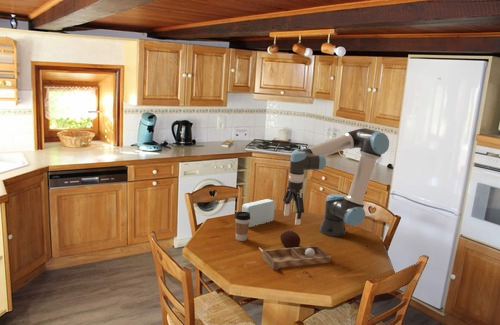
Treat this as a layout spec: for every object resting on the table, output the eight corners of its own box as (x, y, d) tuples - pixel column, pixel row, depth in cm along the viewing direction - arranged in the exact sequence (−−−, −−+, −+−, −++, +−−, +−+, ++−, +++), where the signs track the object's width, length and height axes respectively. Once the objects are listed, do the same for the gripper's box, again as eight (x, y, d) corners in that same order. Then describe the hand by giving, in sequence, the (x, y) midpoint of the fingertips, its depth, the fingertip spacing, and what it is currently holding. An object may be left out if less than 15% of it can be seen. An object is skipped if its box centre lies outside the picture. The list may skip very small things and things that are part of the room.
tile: (269, 247, 236) (269, 246, 236) (276, 255, 227) (276, 253, 227) (258, 248, 234) (258, 246, 234) (265, 256, 225) (266, 254, 224)
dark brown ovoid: (294, 253, 231) (296, 236, 229) (275, 246, 238) (277, 230, 236) (303, 248, 238) (305, 232, 236) (284, 242, 245) (286, 226, 243)
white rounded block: (266, 218, 281) (268, 198, 279) (273, 220, 277) (275, 200, 274) (239, 225, 265) (241, 204, 263) (246, 228, 261) (247, 206, 259)
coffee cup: (246, 242, 240) (248, 216, 237) (231, 240, 241) (233, 214, 238) (250, 237, 248) (252, 211, 245) (235, 235, 250) (237, 209, 246)
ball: (311, 255, 228) (312, 246, 226) (316, 259, 223) (317, 250, 222) (302, 256, 226) (303, 246, 225) (307, 260, 221) (308, 250, 220)
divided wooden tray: (316, 252, 234) (317, 245, 233) (330, 264, 221) (330, 256, 220) (262, 257, 223) (262, 250, 222) (273, 270, 210) (273, 262, 209)
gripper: (279, 175, 240) (276, 212, 244) (300, 187, 217) (295, 228, 222) (292, 174, 243) (288, 211, 247) (313, 187, 220) (309, 227, 224)
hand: (291, 219), depth 234 cm, fingers open, 13 cm apart
